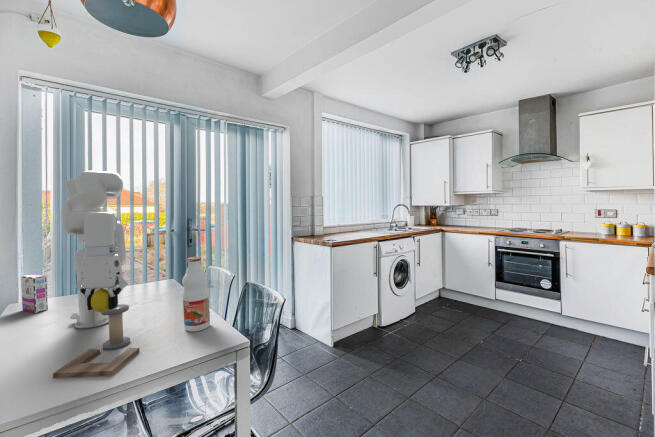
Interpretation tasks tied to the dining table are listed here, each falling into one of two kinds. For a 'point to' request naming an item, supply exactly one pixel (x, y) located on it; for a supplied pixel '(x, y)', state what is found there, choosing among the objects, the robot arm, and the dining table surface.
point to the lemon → (100, 300)
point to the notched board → (94, 365)
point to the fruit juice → (195, 297)
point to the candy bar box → (34, 293)
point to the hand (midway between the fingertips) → (102, 307)
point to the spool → (116, 328)
